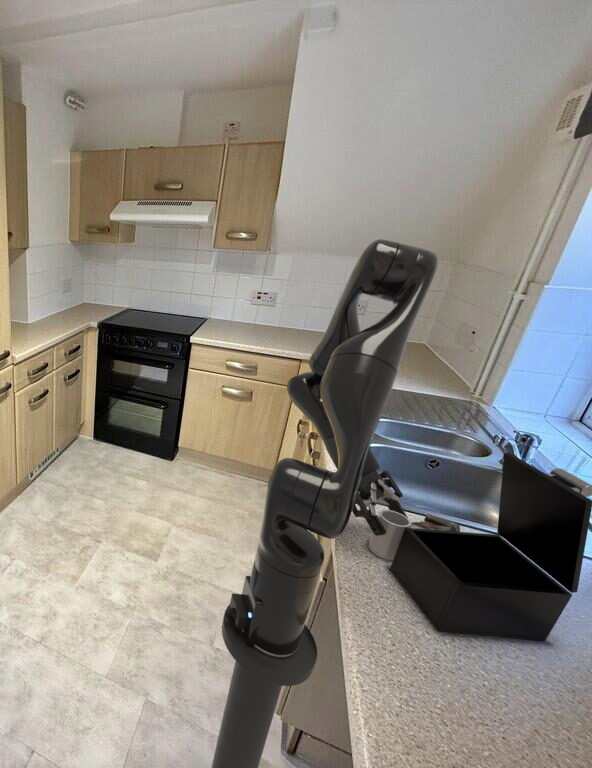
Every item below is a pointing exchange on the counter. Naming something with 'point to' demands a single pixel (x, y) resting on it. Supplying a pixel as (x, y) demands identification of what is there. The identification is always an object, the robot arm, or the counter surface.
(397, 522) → the cup
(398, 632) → the counter surface
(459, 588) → the black hollow box
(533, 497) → the black box lid
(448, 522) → the checkered cake slice
